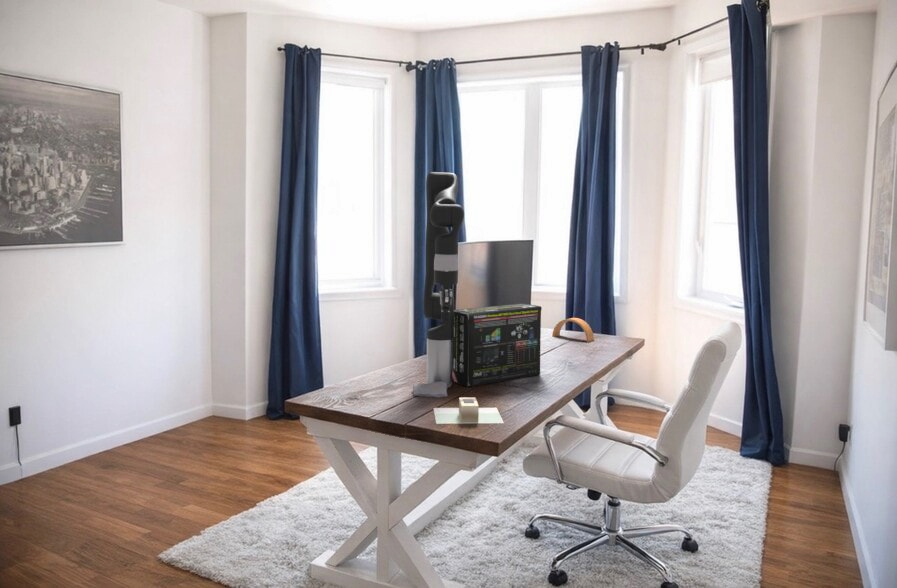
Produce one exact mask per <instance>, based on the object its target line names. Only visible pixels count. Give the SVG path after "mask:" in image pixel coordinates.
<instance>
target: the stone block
mask: <svg viewBox="0 0 897 588" xmlns="http://www.w3.org/2000/svg"><path fill="white" fill-rule="evenodd" d="M412 393H413V396H415V397H426V398H447V397H448V388H447V384H446V383H445V382H432V383H429V384H426V383H422V382H415V384H413V386H412Z"/></svg>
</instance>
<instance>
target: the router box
mask: <svg viewBox="0 0 897 588" xmlns="http://www.w3.org/2000/svg"><path fill="white" fill-rule="evenodd" d="M542 308H543V307H542V306H540V305H535V304H529V303H524V302H523V303H513V304H512V303H511V304H503V305H493V306H481V307H473V308H472V307H471V308H461V309H454V316H453V363H452V382H453V381H454V383H455V382H456V384H457V383H458V385H460V386H463V387H468V386H472V387H476V385H477V386H482V384H483V385H487V384H488V383H489V384H494V382H495V383H501V382H505V381H511V380H517V379H523V378H529V377H534V376H540V375H541V334H542V333H541V331H542V330H541V329H542V323H541V322H542Z"/></svg>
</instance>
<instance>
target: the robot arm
mask: <svg viewBox="0 0 897 588" xmlns="http://www.w3.org/2000/svg"><path fill="white" fill-rule="evenodd" d="M458 179H459V178H458V176H457V175H456V174H455V173H453V172H444V171H442V172H439V171H438V172H436V171H431V172H428V173H427V176H426V182H425V189H426V190H425V191H426V193H425V197H426V199H425V200H426V229H425V230H426V231H425V251H424V252H425V255H424V256H425V259H424V260H425V262H424V263H425V264H424V265H425V270H424V271H425V274H424V287H423V288H424V289H423V298H422V313H423V317H424V318H425V319H427V320H428V319H429V320H441V324H440V325H438V326H435V327H432V328H429V329H428V330H427V331H426V376H425V377H426V378H425V379H426V382H425V384H429V383H432V382H445V383H446V384H447V389H448V387H449V388H451V387H452V386H453V381H452V363H453V316H454V310H455V298H454V297H455V296H454V295H453V290H452V289H451V285H457V284H458V283H459V258H458V257H459V256H458V250H459V249H458V247H459V245H458V244H459V242H458V241H459V234H460V231H461V227H462V225H463V222H464V219H465V211H464V208H463V207H462V206H461V205H460V204H457V198H458V193H459V180H458ZM449 228H451V230H449ZM435 285H441V287H440V288H439V289H438V292H434V289H435Z"/></svg>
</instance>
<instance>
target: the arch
mask: <svg viewBox="0 0 897 588" xmlns="http://www.w3.org/2000/svg"><path fill="white" fill-rule="evenodd" d="M568 322H573V323H576V324H577V325H579V326H580V328H581V329H582V331H583V332H584V334H585V337H586V338H585V339H586V342H587V343H589V342H594V341H595V337H594V333H593V329H592V328H591V326H590V325H589V323H588V322H586V321H585V320H583V319H581V318H578V317H571V318H566V319H562V320H560V321H559V322H558V323H556V324H555V326H554V328H553V330H552V336H551V337H553V338H554V337H555V338H556V337H559V336H561V330H562V327H563V326H564V325H565V324H566V323H568Z"/></svg>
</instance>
